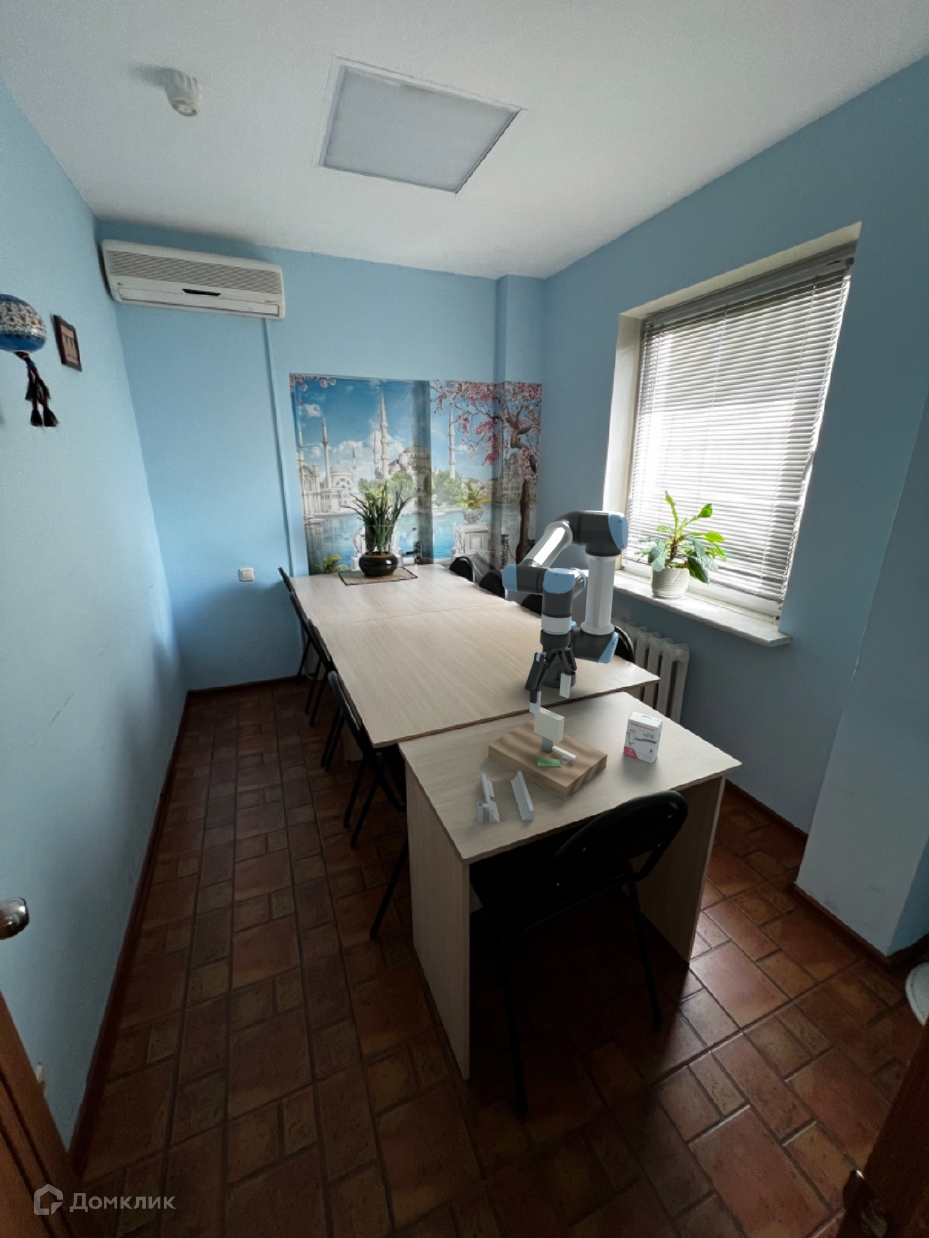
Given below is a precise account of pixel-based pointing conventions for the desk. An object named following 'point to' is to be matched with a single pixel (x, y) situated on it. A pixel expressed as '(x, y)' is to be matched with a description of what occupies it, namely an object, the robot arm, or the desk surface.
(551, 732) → the white piece
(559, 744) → the brown wavy board
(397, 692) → the desk surface
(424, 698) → the desk surface
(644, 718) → the ink box
